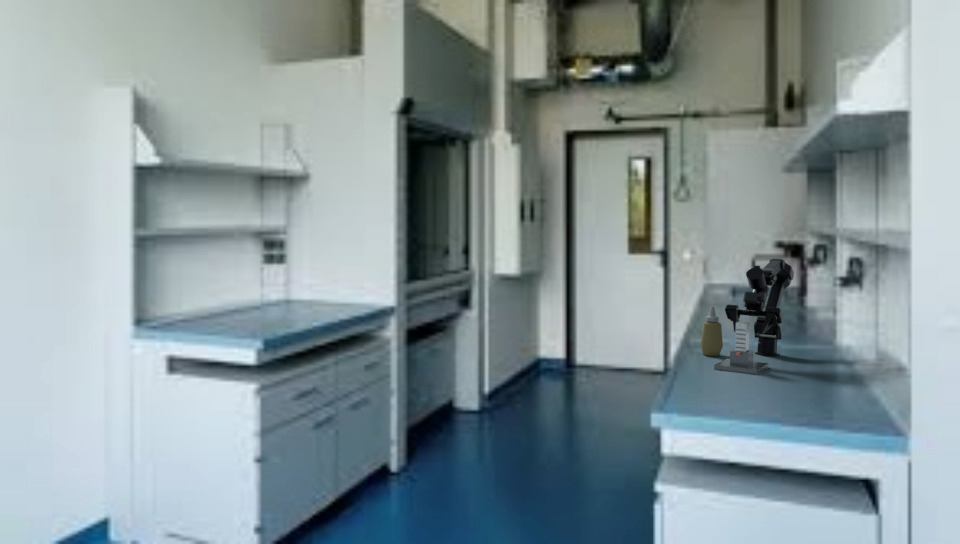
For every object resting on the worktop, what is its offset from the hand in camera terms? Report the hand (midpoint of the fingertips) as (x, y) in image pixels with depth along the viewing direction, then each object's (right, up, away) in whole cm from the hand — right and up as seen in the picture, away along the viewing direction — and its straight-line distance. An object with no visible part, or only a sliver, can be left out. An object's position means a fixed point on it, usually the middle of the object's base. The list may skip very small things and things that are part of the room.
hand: (748, 332), depth 260 cm
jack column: (-4, -6, -5) cm, 9 cm away
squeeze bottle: (-6, -10, +21) cm, 24 cm away
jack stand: (-4, -12, -5) cm, 13 cm away
